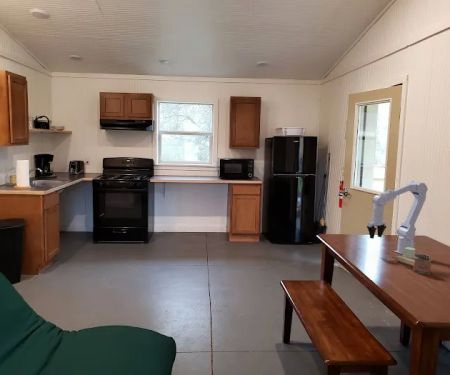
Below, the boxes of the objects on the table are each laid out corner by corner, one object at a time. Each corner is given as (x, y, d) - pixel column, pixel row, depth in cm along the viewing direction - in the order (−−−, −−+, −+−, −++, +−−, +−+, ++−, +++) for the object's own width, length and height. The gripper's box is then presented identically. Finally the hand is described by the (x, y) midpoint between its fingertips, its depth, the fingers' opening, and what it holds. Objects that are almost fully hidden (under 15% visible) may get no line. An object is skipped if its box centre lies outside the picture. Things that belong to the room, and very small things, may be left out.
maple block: (405, 258, 227) (405, 253, 227) (422, 263, 219) (422, 258, 219) (395, 261, 221) (396, 256, 221) (412, 266, 213) (413, 261, 213)
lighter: (429, 272, 202) (431, 254, 201) (430, 275, 199) (432, 256, 198) (412, 270, 205) (414, 252, 203) (413, 272, 202) (415, 253, 200)
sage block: (406, 255, 223) (407, 247, 223) (414, 257, 220) (415, 248, 220) (403, 257, 220) (404, 248, 219) (412, 258, 217) (413, 250, 216)
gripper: (379, 213, 239) (377, 234, 240) (364, 214, 231) (362, 237, 232) (389, 215, 233) (387, 237, 235) (375, 217, 225) (372, 240, 226)
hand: (375, 237), depth 233 cm, fingers open, 7 cm apart
